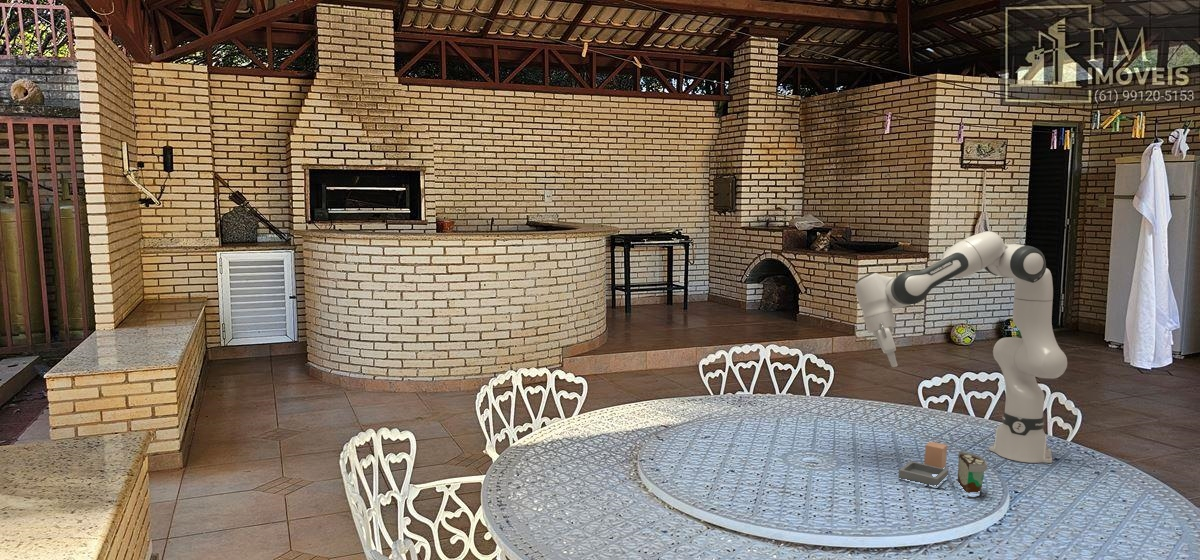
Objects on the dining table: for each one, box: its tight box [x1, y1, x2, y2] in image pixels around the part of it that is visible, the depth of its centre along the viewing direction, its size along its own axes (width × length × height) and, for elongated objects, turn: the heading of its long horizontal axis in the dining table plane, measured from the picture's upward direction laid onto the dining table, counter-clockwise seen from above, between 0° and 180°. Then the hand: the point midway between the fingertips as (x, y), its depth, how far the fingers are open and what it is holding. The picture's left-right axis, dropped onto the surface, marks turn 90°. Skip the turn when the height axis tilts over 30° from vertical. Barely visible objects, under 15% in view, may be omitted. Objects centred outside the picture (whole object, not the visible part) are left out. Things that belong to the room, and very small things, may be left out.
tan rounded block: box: [923, 441, 948, 468], centre depth 239 cm, size 5×5×8 cm
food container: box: [957, 451, 988, 493], centre depth 221 cm, size 12×6×10 cm, turn 168°
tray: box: [897, 460, 949, 486], centre depth 230 cm, size 11×11×3 cm
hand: (894, 366), depth 240 cm, fingers open, 8 cm apart
